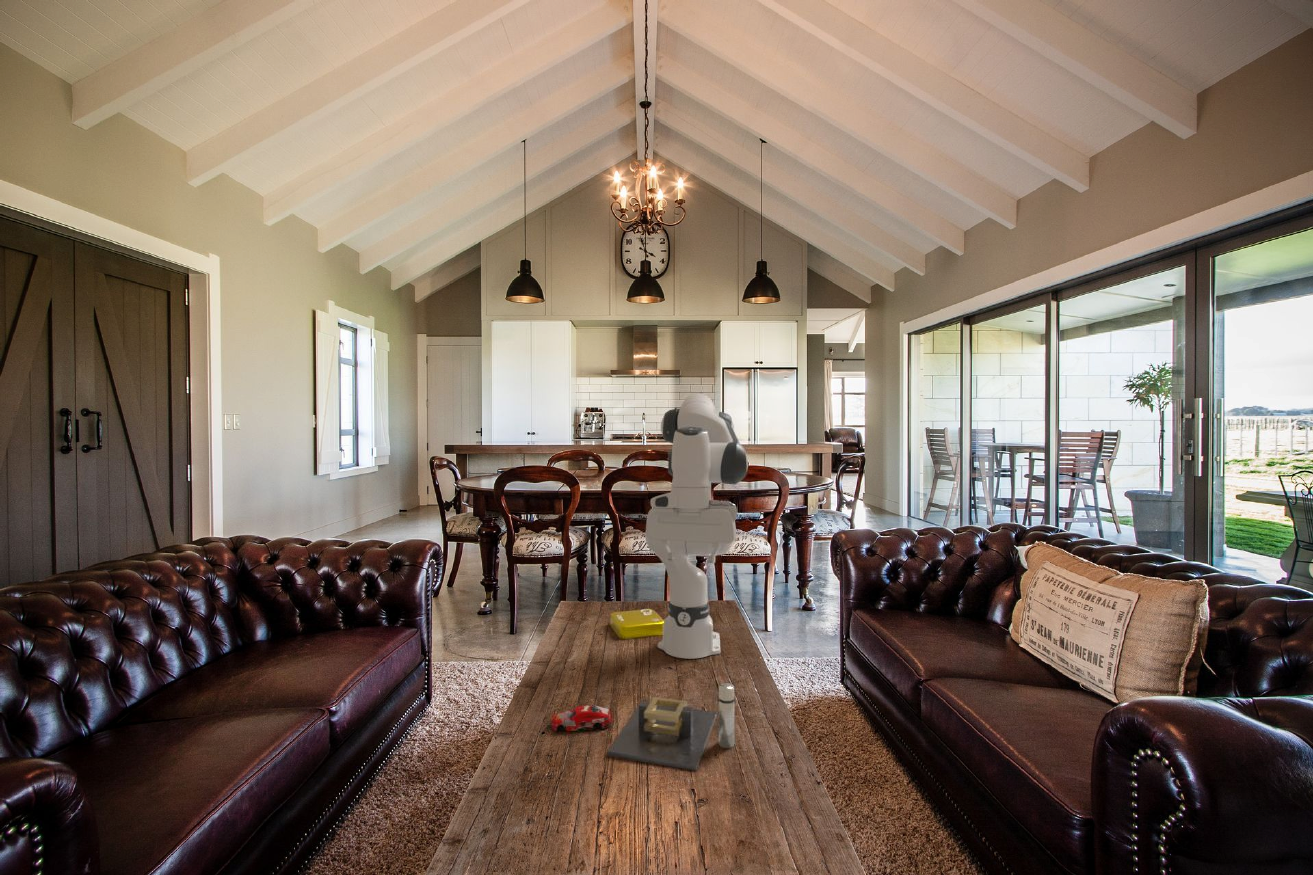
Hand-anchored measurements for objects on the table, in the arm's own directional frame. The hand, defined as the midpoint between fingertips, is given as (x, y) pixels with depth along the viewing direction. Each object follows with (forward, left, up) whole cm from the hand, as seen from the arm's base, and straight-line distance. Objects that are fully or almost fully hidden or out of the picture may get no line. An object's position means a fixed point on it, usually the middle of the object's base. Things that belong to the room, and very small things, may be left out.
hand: (690, 561), depth 132 cm
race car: (+9, -23, -36) cm, 44 cm away
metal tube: (+8, +9, -36) cm, 38 cm away
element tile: (-53, -30, -36) cm, 71 cm away
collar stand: (+8, -4, -36) cm, 37 cm away
